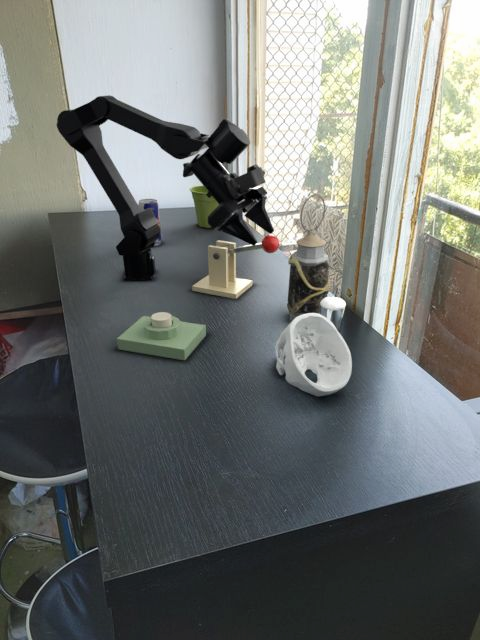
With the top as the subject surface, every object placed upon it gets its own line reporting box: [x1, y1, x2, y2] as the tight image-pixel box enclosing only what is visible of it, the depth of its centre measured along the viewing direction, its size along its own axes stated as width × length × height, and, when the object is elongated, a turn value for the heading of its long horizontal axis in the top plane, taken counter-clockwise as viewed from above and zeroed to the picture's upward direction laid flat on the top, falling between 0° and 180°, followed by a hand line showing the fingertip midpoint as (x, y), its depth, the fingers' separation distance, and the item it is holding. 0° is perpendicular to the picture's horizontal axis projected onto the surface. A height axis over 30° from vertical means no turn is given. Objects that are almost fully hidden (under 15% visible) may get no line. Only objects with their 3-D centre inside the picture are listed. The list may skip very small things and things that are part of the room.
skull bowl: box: [274, 313, 353, 398], centre depth 85 cm, size 10×14×12 cm
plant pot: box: [189, 184, 219, 229], centre depth 162 cm, size 12×12×11 cm
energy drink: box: [137, 198, 162, 247], centre depth 145 cm, size 5×5×12 cm
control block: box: [116, 315, 207, 361], centre depth 96 cm, size 13×10×4 cm
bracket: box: [191, 239, 253, 300], centre depth 118 cm, size 11×9×10 cm
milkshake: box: [320, 287, 347, 334], centre depth 95 cm, size 4×5×10 cm
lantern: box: [286, 193, 331, 322], centre depth 100 cm, size 9×8×25 cm
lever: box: [219, 234, 280, 257], centre depth 113 cm, size 15×4×4 cm, turn 67°
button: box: [150, 311, 172, 328], centre depth 94 cm, size 4×4×2 cm
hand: (264, 238), depth 110 cm, fingers open, 9 cm apart
